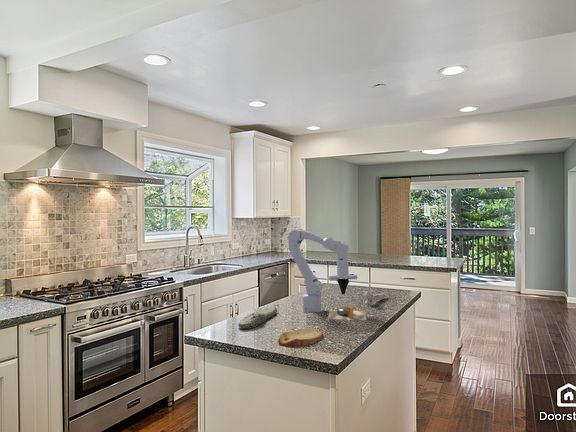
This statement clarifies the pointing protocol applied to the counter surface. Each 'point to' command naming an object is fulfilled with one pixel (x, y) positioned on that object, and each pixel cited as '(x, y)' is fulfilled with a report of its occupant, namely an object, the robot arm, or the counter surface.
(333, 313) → the panel
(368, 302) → the wrench
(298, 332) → the bread slice
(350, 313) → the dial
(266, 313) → the elongated rock
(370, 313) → the counter surface
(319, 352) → the counter surface
